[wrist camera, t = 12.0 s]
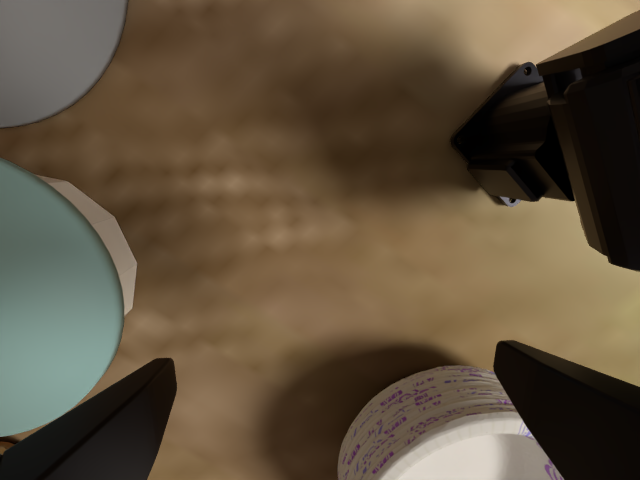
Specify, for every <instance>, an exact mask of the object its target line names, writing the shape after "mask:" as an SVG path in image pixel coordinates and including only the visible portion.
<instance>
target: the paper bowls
mask: <svg viewBox="0 0 640 480" xmlns="http://www.w3.org/2000/svg"><path fill="white" fill-rule="evenodd" d="M338 480H564V479H563V477H562V476H561V475H560V473H559V472H558V470H557V469H556V468H555V466H554V465H553V463H552V462H551V461H550V459H549V458H548V456H547V455H546V454H545V452H544V451H543V449H542V448H541V447H540V445H539V444H538V442H537V441H536V440H535V438H534V437H533V436H532V434H531V433H530V431H529V430H528V428H527V427H526V425H525V424H524V422H523V420H522V419H521V417H520V416H519V414H518V412H517V411H516V409H515V407H514V406H513V404H512V402H511V400H510V399H509V397H508V395H507V394H506V392H505V390H504V389H503V387H502V385H501V384H500V382H499V380H498V379H497V377H496V375H495V373H494V372H492V371H489V370H487V369H481V368H478V367H471V366H461V365H456V366H443V367H436V368H433V369H430V370H426V371H421V372H419V373H416V374H413V375H411V376H409V377H407V378H403V379H401V380H400V381H398V382H396V383H394V384H391V385H390V386H389V387H387V388H386V389H384V390H383V391H381V392H380V393H379V394H377V395H376V396H375V397H374V398H372V399H371V400H370V401H369V402H368V403H367V404H366V406H365V407H364V408H363V409H362V410H361V411H360V413H359V414H358V416H357V417H356V418H355V419H354V421H353V423H352V424H351V426H350V428H349V430H348V432H347V434H346V436H345V438H344V440H343V443H342V445H341V449H340V454H339V459H338Z"/></svg>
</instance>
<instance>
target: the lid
mask: <svg viewBox="0 0 640 480" xmlns="http://www.w3.org/2000/svg"><path fill="white" fill-rule="evenodd" d="M124 309H125V306H124V298H123V290H122V286H121V282H120V278H119V275H118V271H117V269H116V266H115V264H114V262H113V259H112V257H111V255H110V252H109V251H108V249H107V247H106V246H105V244H104V242H103V241H102V239H101V237H100V235H99V234H98V233H97V231H96V230H95V229H94V227H93V226H92V225H91V224H90V222H89V221H88V220H87V218H86V217H85V216H84V215H83V214H82V213H81V212H80V211H79V210H78V209H77V208H76V207H75V206H74V205H73V204H72V203H71V202H70V201H69V200H68V199H67V198H66V197H64V196H63V195H62V194H61V193H60V192H58V191H57V190H56V189H55V188H54V187H52V186H51V185H49V184H48V183H46V182H45V181H43V180H42V179H40V178H39V177H37V176H36V175H34V174H33V173H31V172H29V171H27V170H25V169H23V168H21V167H20V166H18V165H16V164H14V163H12V162H10V161H7V160H5V159H2V158H0V437H3V436H10V435H14V434H18V433H22V432H25V431H29V430H32V429H34V428H37V427H39V426H42V425H44V424H47V423H48V422H50V421H52V420H54V419H56V418H58V417H60V416H61V415H63V414H64V413H66V412H67V411H68V410H70V409H71V408H73V407H74V406H75V405H76V404H77V403H78V402H79V401H80V400H81V399H83V398H84V397H85V396H86V395H87V394H88V393H89V391H90V390H91V389H92V388H93V387H94V386H95V385H96V383H97V382H98V381H99V380H100V379H101V377H102V376H103V375H104V373H105V372H106V371H107V369H108V368H109V366H110V364H111V362H112V361H113V359H114V357H115V355H116V353H117V350H118V347H119V344H120V341H121V338H122V332H123V327H124Z"/></svg>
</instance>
